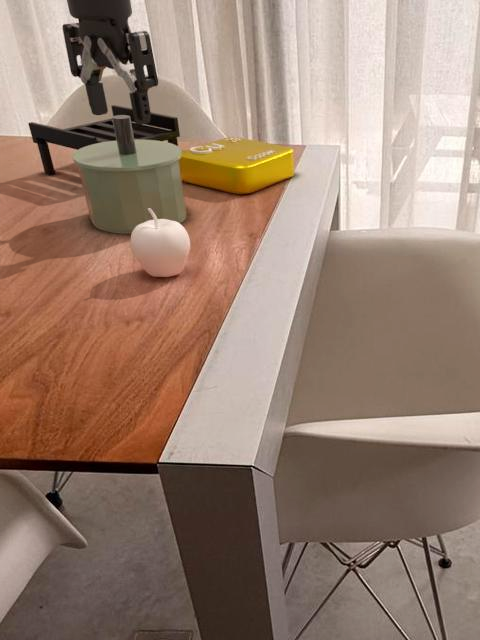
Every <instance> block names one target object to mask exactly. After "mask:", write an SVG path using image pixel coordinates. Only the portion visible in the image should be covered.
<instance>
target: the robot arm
mask: <svg viewBox="0 0 480 640" xmlns="http://www.w3.org/2000/svg"><path fill="white" fill-rule="evenodd" d="M66 1H67V2H66V3H67V7H68V12H69V15H70V16H71V17H72V18H74V19H76V20H78V22H72V23H71V22H70V23H63V25H62V27H61V29H62V33H63V39H64V44H65V49H66V55H67V59H68V65H69V69H70V74H71V75H72V76H73V78H79V79H80V81H81V82H82V84H84V86H85V91H86V96H87V100H88V105H89V108H90V111H91V113H92V115H93V116H102V115H107V113H108V112H109V109H108V104H107V103H108V102H107V100H106V99H107V98H106V94H105V93H106V92H105V89H104V83H103V82H101V80H102V78H103V74H104V70H105V69H110V70H114V71H115V73H116V75H117V76H118V77H120V78H122V79H123V81H124V83H125V84H126V86H127V87H128V90H129V91H130V92H129V98H130V99H129V100H130V105H131V108H132V111H133V116H134V121H135V122H134V123H136V124H140V125H145V124H146V123H149V122H150V118H151V107H150V100H149V94H148V93H149V90H150V89H152V88H154V87H158V86H159V79H158V73H157V67H156V62H155V58H154V53H153V52H154V51H153V47H152V41H151V37H150V33H149V32H148V31H147V30H142V31H140V30H139V31H133V32H132V31H131V28H130V25H129V18H130V17H131V16H132V15H133V8H132V2H131V0H66ZM78 56H79V57H80V65H79V62H78ZM128 62H129V63H128ZM144 68H146V72H147V76H146V72H145V69H144ZM134 78H135V79H134Z"/></svg>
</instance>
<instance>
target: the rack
mask: <svg viewBox="0 0 480 640" xmlns="http://www.w3.org/2000/svg"><path fill="white" fill-rule="evenodd" d="M110 107H111V111H112V117H113V116H117V115H128V116H130V118H131V124H132V130H133V135H134V140H136V139H139V140H156V141H163V142H166V141H167V142H168V143H171V144H174V145H176V146H178V147H179V143H178V138H179V137H181V134H180V133H181V132H180V127H179V119H178V117H176V116H171V115H166V114H161V113H156V112H151V111H150V112H151V118H150V122H149V123H146V124H142V125H140V124H136V123H135V121H134V116H133V111H132V107H126V106H121V105H116V104H113V105H110ZM27 124H28V128H29V132H30V136H31V140H32V143H33V144H37V148H38V151H39V155H40V160H41V163H42V167H43V171H44V174H45V175H48V176H53V175H56V171H55V166H54V163H53V159H52V155H51V151H50V147H49V144H52V145H56V146H59V147H60V146H61V147H65V148H68V149H73V150H76V151H77V150H78V149H81V148H83V147H86V146H89V145H92V144H97V143H102V142H108V141H116V136H115V131H114V126H113V121H112V118H108V119H107V118H106V119H103V120H99V121H94V122H90V123H89V122H88V123H85V124H81V125H76V126H72V127H67V128H59V127H54V126H50V125H46V124H42V123H38V122H34V121H31V122H28V123H27Z"/></svg>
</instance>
